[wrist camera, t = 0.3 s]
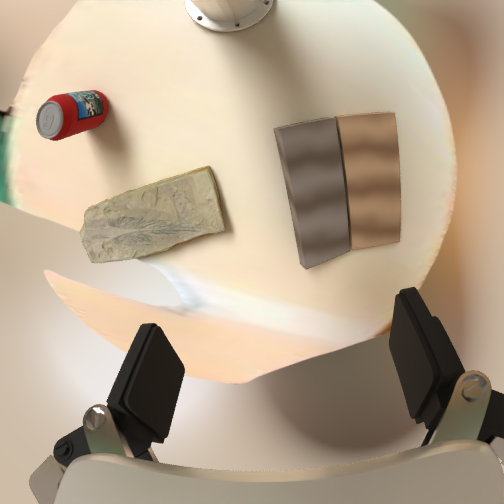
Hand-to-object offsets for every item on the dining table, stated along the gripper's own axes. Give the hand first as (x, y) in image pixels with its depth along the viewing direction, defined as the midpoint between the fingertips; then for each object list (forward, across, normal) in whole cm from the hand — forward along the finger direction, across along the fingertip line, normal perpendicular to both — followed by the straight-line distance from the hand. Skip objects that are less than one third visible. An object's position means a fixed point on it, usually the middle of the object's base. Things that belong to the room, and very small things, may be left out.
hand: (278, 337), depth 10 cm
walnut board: (+35, -15, +6) cm, 38 cm away
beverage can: (+34, +27, -16) cm, 46 cm away
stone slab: (+35, +24, +6) cm, 43 cm away
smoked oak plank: (+33, -5, +7) cm, 34 cm away
